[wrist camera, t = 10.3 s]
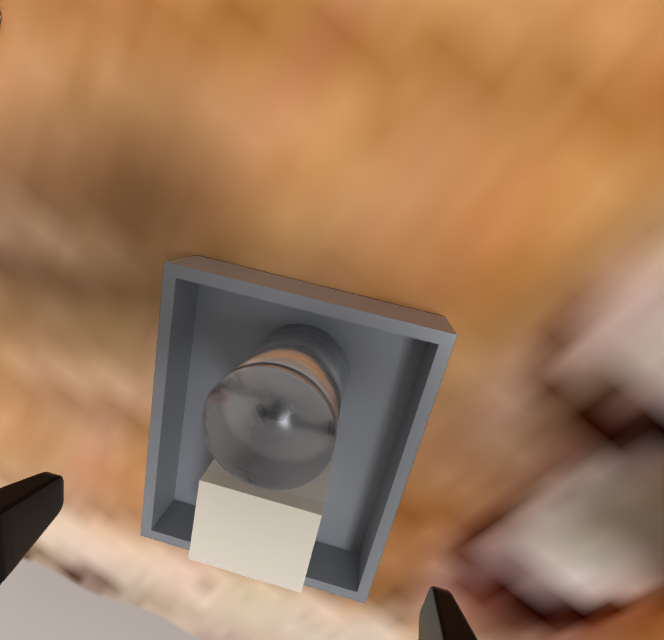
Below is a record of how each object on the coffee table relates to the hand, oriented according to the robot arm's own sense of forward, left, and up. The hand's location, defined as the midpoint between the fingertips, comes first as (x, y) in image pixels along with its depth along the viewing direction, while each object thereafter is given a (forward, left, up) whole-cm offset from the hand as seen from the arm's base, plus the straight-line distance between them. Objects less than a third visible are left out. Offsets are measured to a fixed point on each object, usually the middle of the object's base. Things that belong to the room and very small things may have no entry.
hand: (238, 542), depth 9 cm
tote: (+1, +4, -12) cm, 13 cm away
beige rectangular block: (+1, +8, -11) cm, 14 cm away
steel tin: (+1, +1, -11) cm, 11 cm away
